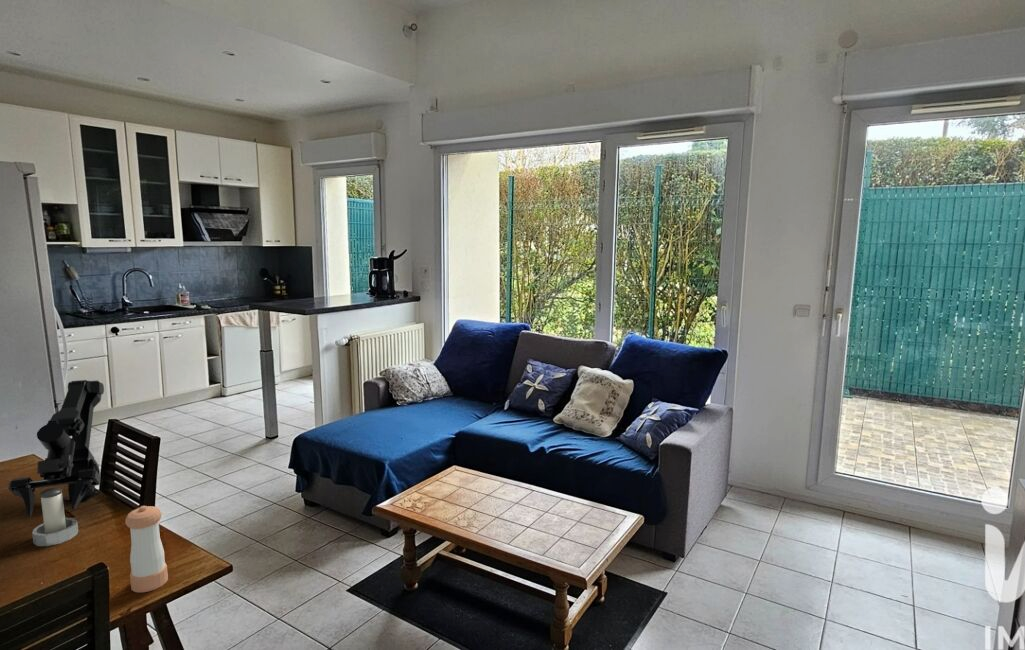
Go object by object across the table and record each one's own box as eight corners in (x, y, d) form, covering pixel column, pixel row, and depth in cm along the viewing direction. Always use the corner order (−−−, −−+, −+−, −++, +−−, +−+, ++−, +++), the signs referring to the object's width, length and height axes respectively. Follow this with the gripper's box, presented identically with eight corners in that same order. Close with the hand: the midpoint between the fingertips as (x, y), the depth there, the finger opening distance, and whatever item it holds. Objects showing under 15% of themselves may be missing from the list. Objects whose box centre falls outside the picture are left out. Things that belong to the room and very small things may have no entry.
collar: (53, 527, 154) (52, 517, 154) (86, 528, 154) (85, 518, 154) (24, 545, 145) (23, 535, 145) (59, 546, 145) (58, 535, 145)
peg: (58, 531, 153) (53, 486, 151) (71, 533, 152) (65, 488, 150) (41, 539, 148) (35, 493, 146) (54, 542, 147) (48, 496, 145)
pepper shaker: (161, 570, 136) (154, 496, 133) (173, 581, 132) (166, 505, 129) (126, 583, 130) (118, 507, 127) (137, 596, 126) (129, 517, 123)
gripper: (6, 450, 146) (-7, 508, 138) (93, 440, 153) (86, 495, 145) (21, 467, 154) (10, 523, 146) (103, 457, 162) (97, 510, 154)
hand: (51, 512), depth 147 cm, fingers open, 9 cm apart
